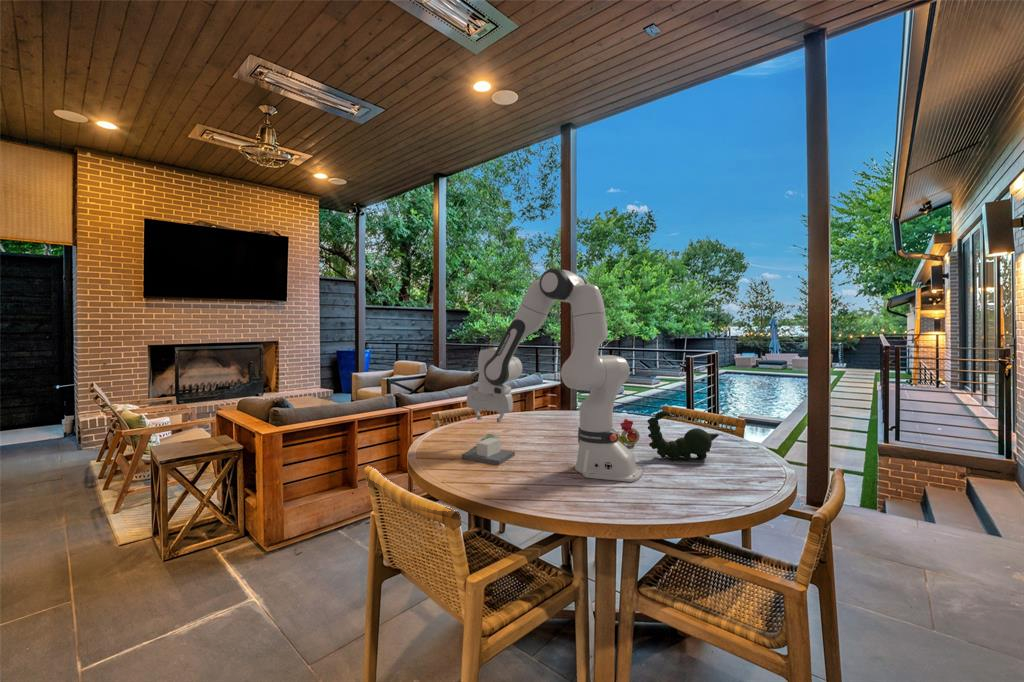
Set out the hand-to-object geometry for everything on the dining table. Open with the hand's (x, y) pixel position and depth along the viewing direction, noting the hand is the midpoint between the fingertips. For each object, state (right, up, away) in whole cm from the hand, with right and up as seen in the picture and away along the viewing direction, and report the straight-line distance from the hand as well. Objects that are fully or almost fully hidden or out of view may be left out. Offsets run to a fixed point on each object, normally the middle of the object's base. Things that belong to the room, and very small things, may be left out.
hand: (489, 420), depth 179 cm
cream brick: (0, -10, -13) cm, 16 cm away
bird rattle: (+56, -10, 0) cm, 57 cm away
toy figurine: (+72, -11, -17) cm, 75 cm away
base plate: (0, -11, -12) cm, 17 cm away
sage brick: (0, -11, 0) cm, 11 cm away
